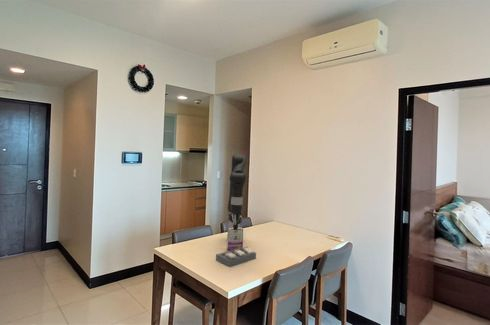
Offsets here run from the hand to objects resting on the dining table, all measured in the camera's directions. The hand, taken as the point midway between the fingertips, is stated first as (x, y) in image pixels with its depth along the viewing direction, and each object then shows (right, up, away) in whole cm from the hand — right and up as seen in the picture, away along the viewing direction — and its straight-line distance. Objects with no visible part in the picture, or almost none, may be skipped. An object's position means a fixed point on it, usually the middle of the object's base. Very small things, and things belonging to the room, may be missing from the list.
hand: (235, 229), depth 179 cm
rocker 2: (+3, -17, +5) cm, 18 cm away
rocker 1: (-3, -17, 0) cm, 17 cm away
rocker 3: (+8, -17, +11) cm, 22 cm away
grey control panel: (0, -22, +8) cm, 23 cm away
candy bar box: (-1, -22, +27) cm, 34 cm away
